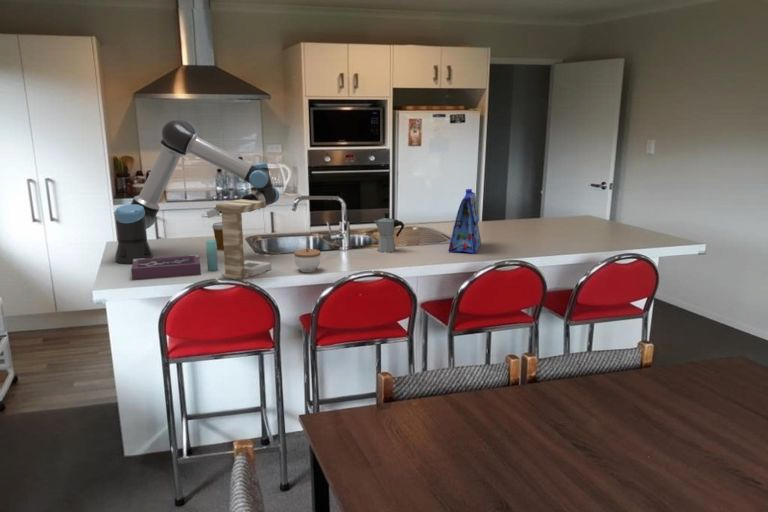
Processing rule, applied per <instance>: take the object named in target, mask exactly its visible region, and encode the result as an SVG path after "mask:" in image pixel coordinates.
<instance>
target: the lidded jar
mask: <svg viewBox="0 0 768 512" xmlns="http://www.w3.org/2000/svg"><path fill="white" fill-rule="evenodd" d="M321 252H322V251H320V250H319V249H314V248H309V247H306V248H305V249H304V248H303V249H297V250H295V251H294V253H293V255H294V263H295V265H296V267H297V268H298V269H299V270H300V271H301V272H304V273H312V272H315V271H316V270H317V268H318V267H319V266H320V263H321V254H322V253H321Z"/></svg>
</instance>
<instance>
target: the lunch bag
mask: <svg viewBox="0 0 768 512" xmlns="http://www.w3.org/2000/svg"><path fill="white" fill-rule="evenodd" d="M479 221H480V219H479V213H478V205H477V197H476V193H475V192H473V189H472V188H466V189H465V195H464V197H463V198H462V199H461V202H460V204H459V207H458V210H457V213H456V216H455V219H454V224H453V228H452V232H451V237H450V241H449V246H448V253H454V252H455V253H457V252H458V253H459V252H460V253H461V252H465V253H469V254H473V255H475V254H477V251H478V249H479V247H480V246H481V245H482V240H481V239H482V238H481V233H480V227H479Z"/></svg>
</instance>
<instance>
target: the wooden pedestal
mask: <svg viewBox="0 0 768 512" xmlns="http://www.w3.org/2000/svg"><path fill="white" fill-rule="evenodd" d="M266 207H267V206H266V201H257V200H244V199H242V198H240V199H237V200H230V201H226V202H221V203H216V204H215V208H216V211H222V213H221V222H222V228H223V244H224V250H223V259H224V272H223V273H222V274H221V278H224V277H226V279H231V278H236V279H235V280H239V279H241V280H243V279H246V278H249V275H248V274H247V273H245V270H244V261H245V258H244V257H245V254H244V237H243V217H242V214H245V213H249V212H248V211H251V212H253V210H254V211H256V210H258V209H260V210H262V209H264V208H266Z"/></svg>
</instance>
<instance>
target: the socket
mask: <svg viewBox="0 0 768 512" xmlns="http://www.w3.org/2000/svg"><path fill="white" fill-rule="evenodd" d="M269 269H270V270H272V262H264V261H256V260H249V259H246V260H244V270H245V273H247V274H248V276H249V275H253V276H252V277H255V276H258V275H260V274H263V273H265V272H267V271H266V270H268V271H270V270H269ZM264 271H265V272H264ZM262 272H263V273H262ZM259 273H260V274H259ZM257 274H258V275H257ZM254 275H255V276H254Z"/></svg>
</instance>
